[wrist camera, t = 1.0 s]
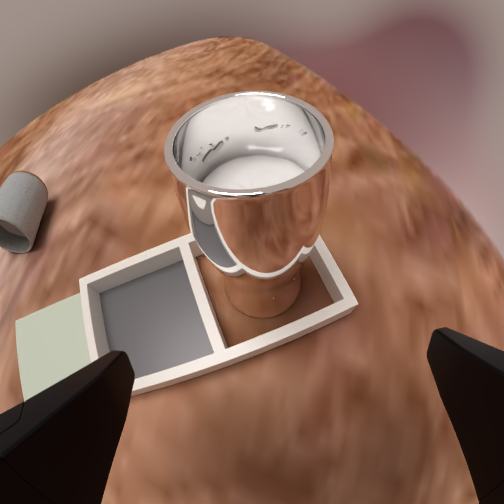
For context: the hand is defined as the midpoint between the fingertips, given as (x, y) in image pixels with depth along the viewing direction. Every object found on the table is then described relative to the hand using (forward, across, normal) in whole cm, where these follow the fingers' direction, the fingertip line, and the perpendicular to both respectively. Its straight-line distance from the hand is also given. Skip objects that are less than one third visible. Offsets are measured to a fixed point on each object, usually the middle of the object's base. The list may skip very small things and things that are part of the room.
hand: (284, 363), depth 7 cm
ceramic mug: (+22, +31, -1) cm, 38 cm away
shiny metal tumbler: (+16, +1, +5) cm, 16 cm away
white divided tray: (+13, +10, +7) cm, 18 cm away
